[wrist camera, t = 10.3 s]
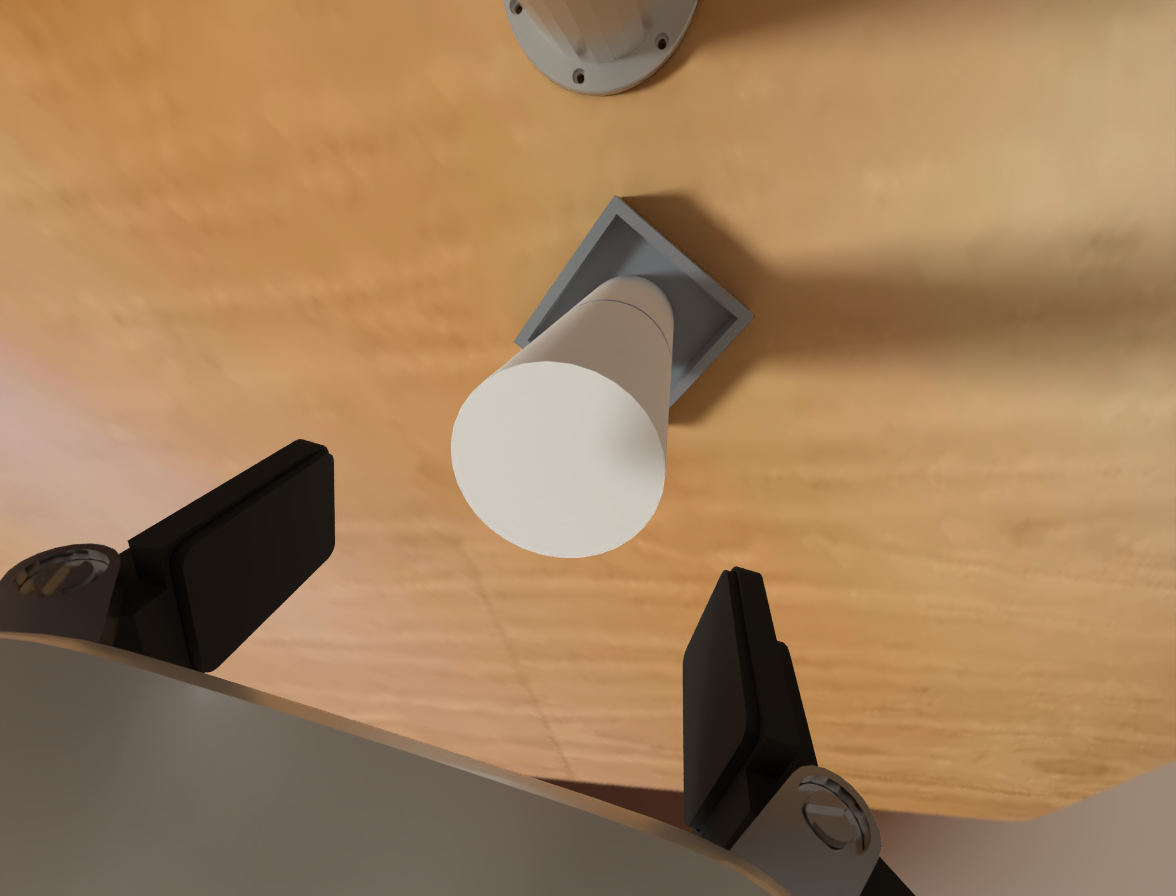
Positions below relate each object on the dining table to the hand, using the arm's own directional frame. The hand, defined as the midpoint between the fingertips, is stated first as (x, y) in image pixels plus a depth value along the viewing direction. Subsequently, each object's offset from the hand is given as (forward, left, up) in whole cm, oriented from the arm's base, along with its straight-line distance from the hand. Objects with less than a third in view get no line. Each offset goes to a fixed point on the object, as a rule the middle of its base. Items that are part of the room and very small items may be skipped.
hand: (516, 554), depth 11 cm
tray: (0, 0, -31) cm, 31 cm away
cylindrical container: (0, 0, -30) cm, 30 cm away
